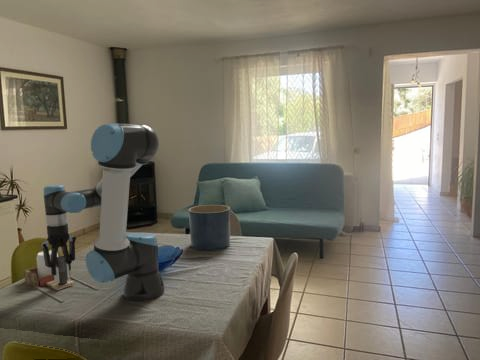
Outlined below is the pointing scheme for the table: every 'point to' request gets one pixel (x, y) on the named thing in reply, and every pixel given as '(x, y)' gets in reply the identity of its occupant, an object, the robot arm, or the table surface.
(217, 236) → the planter
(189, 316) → the table surface
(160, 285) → the robot arm
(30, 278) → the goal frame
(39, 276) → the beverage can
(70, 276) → the pitch lines
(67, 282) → the rod slider
